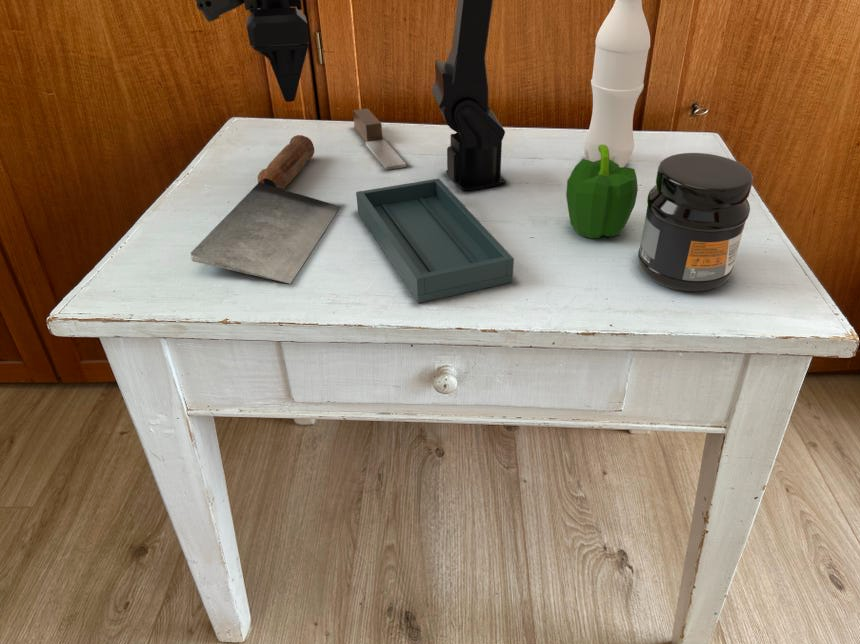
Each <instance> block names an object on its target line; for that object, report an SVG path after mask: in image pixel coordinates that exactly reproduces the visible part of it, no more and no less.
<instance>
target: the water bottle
mask: <svg viewBox="0 0 860 644" xmlns="http://www.w3.org/2000/svg"><path fill="white" fill-rule="evenodd" d="M642 3H643V1H642V0H615V1H614V2H613V6H612V7H611V9H610V11H609V12H608V14H607V15H606V17H605V19H604V20H603V22H602V24H601V26H600V27H599V29H598V32H597V34H596V37H595V43H594V44H595V49H594V56H593V57H594V58H593V69H592V75H591V76H592V77H591V79H590V85H591V91H592V110H591V111H592V112H591V113H592V114H591V119H590V124H589V128H588V131H587V133H586V135H585V137H584V140H583V156H584V159H585V160H589V161H592V162H594V161H598V160H601V152H599V149H598V146H599V145H606V146H607V147H608V150H609V159H610V160H612V161H613V162H615V163H617V164H618V165H619V167H626V165H627V163H628V162H629V161H630V159H631V158H632V154H633V151H634V148H635V141H634V130H633V129H634V126H633V125H634V114H635V109H636V105H637V102H638V99H639V96H640V95H641V93H642V91H643V90H644V86H645V84H644V80H645V74H646V68H647V61H648V55H649V51H650V50H649V49H650V48H651V33H650V29H649V25H648V22H647V19H646V15H645V12H644V10H643V4H642Z"/></svg>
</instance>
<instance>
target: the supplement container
mask: <svg viewBox="0 0 860 644" xmlns="http://www.w3.org/2000/svg"><path fill="white" fill-rule="evenodd" d="M753 182H754V176H753V173H752V171H750V169H749V168H747V166H745V165H743V164H742V163H740V162H738V161H736V160H734V159H731V158H729V157H725V156H721V155H717V154H712V153H703V152H683V153H677V154H673V155H670V156H667V157H665V158H664V159H663V160H661V161H660V163H659V164H658V166H657V172H656V178H655V184H654V186H653V187H652V188H651V189H650V191H649V192H648V195H647V198H646V199H647V200H646V203H647V206H646V212H645V216H644V223H643V227H642V234H641V238H640V245H639V248H638V251H637V263H638V266H639V268H640V270H641V271H642V273H643V274H644V275H645V276H647V277H648V279H650V280H651V281H653V282H655V283H656V284H658V285H661V286H663V287H666V288H669V289H672V290H676V291H682V292H683V291H684V292H704V291H709V290H713V289H716V288H719V287H720V286H722V285H724V284H725V283H726V282H727V281H728V280H729V279H730V277H731V276H732V273H733V270H734V265H735V260H736V257H737V254H738V251H739V250H738V249H739V246H740V243H741V239H742V236H743V232H744V229H745V225H746V221H747V220H748V218H749V217H750V212H751V206H750V202H749V200H748V198H749V197H750V193H751V189H752V187H753V186H752V185H753Z"/></svg>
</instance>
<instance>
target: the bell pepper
mask: <svg viewBox="0 0 860 644" xmlns="http://www.w3.org/2000/svg"><path fill="white" fill-rule="evenodd" d="M598 149H599V152H601V160H598V161H594V162H592V161H589V160H586V159H585V158H581V159H580V161H579V162H578V163H577V164H576V165H575V166H574V167H573V169H572V171H571V173H570V175H569V177H568V178H567V180H566V192H565V197H566V203H567V204H566V205H567V211H568V216H569V222H570V225H571V227H572V229H573V230H574V231H575V232H576V233H577V234H578V235H579V236H582V237H586V238H589V239H600V238H601V237H602V236H605V237H616V236H618V234H619V233H621V231H622V230H623V229H624V228H625V226H626V225H627V223H628V220H629V219H630V217H631V214H632V212H633V210H634V209H635V205H636V200H637V196H638V191H639V187H638V178H637V173H636V169H635V168H632V167H626V166H624V167H619V165H618V164H617V163H615V162H613V161H612V160H610V159H609V150H608V147H607V146H606V145H599V146H598Z"/></svg>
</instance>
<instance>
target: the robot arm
mask: <svg viewBox="0 0 860 644" xmlns="http://www.w3.org/2000/svg"><path fill="white" fill-rule="evenodd" d="M194 1H195V3H196V7H197V9H198V10H199V11H201V14H202V15H203V16H204V18H205V20H206V22H208V23H210V22H213V21H215V20H217V19H219V18H220V16H221V15H223V14H226V13H227V12H230V11H232V10H234V9H236V8H239V7H240V6H242V5H244V9H245V11H249V13H250V14H249V15H248V17H247V18H246V30H247V36H248V41H249V46H250V47H251V48H252V49H253V50H254V51H255V52H257V53H259V54H261V55H262V56H264V57H265V58H266V59H268V61H269V63H270V66H271V69H272V71H273V74H274V76H275V79H276V82H277V84H278V87H279V89H280V93H281V95H282V97H283V101H284V102H286V103H290V102H294V101H296V97H297V93H298V89H299V84H300V81H301V76H302V72H303V68H304V65H305V61H306V57H307V53H308V49H309V48H310V42H311V41H310V40H311V39H310V33H309V23H308V20H307V15H305V14H304V13H303V6H302V0H194ZM493 5H494V0H457V1H456V10H455V18H454V26H453V28H454V29H453V36H452V45H451V49H450V51H449V54H448V56H447V59H446V60H445V61H442V60H437V59H436V60H435V62H434V71H435V72H434V73H435V78H434V79H435V80H434V84H433V85H432V88H431V89H430V91H431V93H432V95H433V97H434V100H435V101H436V104H437V106H438V108H439V111H440V113H441V115H442V118H443V120H444V121H445V123H446V125H447V126H448V127H449V128H450V129H451V130H453V132H455V133H451V134H450V145H449V146H448V147H447V148H446V170H445V174H446V176H448V178H449V179H451V181H452V182H453V183H454V184H455V185H456V186H457V187H458V188H459V189H460V190H461V191H463V192H469V191H474V190H480V189H486V188H491V187H498V186H503V185H505V184H506V181H507V180H506V179H505V178H504V177H503V176H502V175H501V172H502V152H503V151H502V148H503V139H504V137H505V134H506V131H505V128H504V127H503V125H502V124H501V123H500V121H499V120H498V118H497V116H496V115H495V113H494V111H493V110H492V108H491V107H490V106H489V82H488V74H487V65H486V52H487V45H488V38H489V33H490V26H491V25H490V24H491V17H492V11H493Z"/></svg>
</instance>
